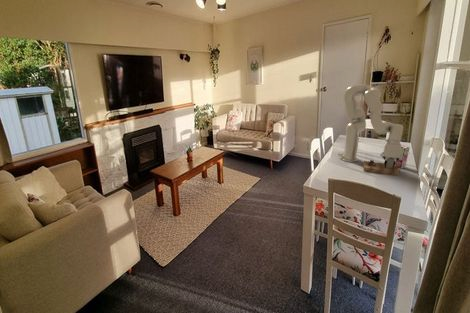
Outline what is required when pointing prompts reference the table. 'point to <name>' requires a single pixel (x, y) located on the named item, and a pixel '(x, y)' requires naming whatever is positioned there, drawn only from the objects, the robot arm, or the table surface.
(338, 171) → the table surface
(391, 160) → the plug
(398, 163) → the candy bar box
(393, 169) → the socket board
